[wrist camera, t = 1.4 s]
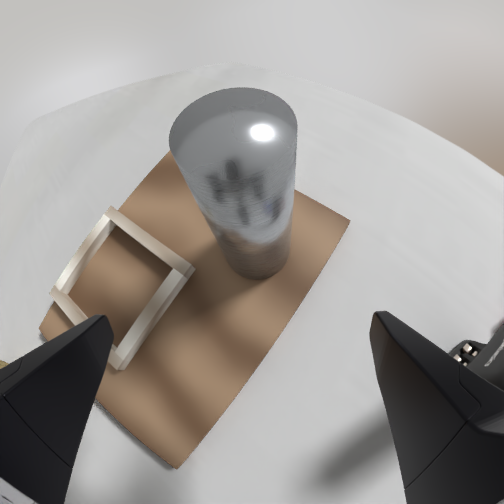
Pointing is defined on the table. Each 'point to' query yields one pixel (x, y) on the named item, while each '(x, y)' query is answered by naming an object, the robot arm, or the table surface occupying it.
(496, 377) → the battery charger
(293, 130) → the grey cylinder
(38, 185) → the table surface
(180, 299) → the board
